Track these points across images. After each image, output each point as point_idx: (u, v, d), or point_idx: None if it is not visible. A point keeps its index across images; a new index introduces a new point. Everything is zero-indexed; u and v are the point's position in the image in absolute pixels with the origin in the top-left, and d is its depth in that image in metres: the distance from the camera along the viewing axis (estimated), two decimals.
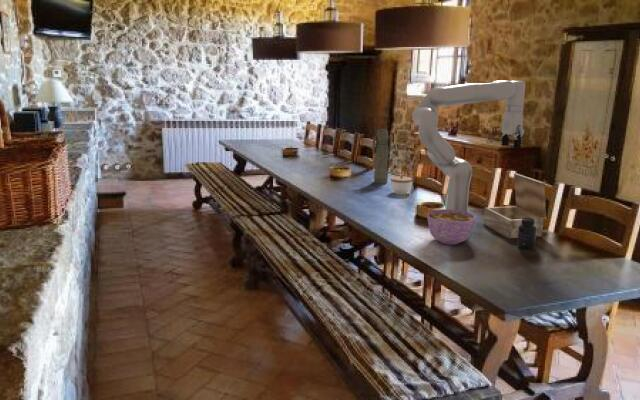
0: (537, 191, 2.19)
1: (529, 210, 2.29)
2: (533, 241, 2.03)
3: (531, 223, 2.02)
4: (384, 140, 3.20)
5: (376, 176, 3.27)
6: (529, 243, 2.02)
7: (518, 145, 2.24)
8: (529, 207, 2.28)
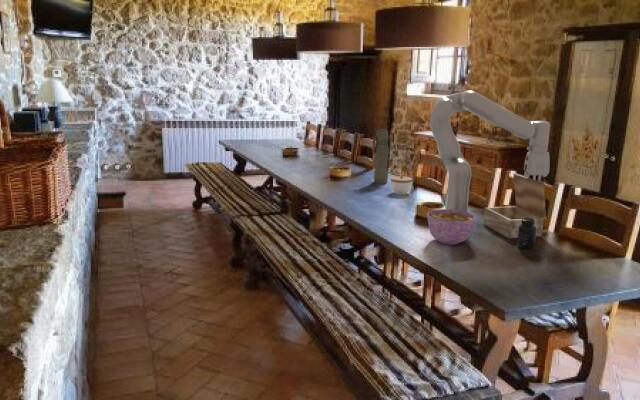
0: (537, 191, 2.19)
1: (529, 210, 2.29)
2: (533, 241, 2.03)
3: (531, 223, 2.02)
4: (384, 140, 3.21)
5: (376, 176, 3.27)
6: (529, 243, 2.02)
7: None
8: (529, 207, 2.28)
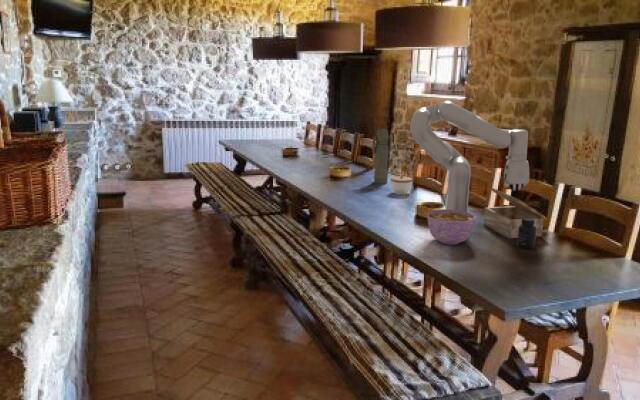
0: (519, 204, 2.19)
1: (528, 211, 2.29)
2: (533, 241, 2.03)
3: (531, 223, 2.02)
4: (384, 140, 3.20)
5: (376, 176, 3.27)
6: (529, 243, 2.02)
7: None
8: (526, 209, 2.28)
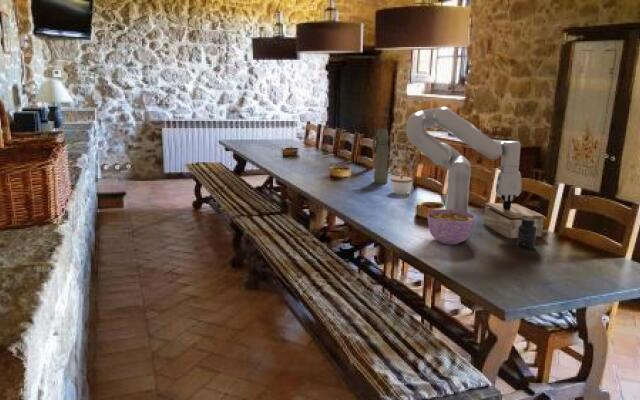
0: None
1: None
2: (533, 241, 2.03)
3: (531, 223, 2.01)
4: (384, 140, 3.20)
5: (376, 176, 3.27)
6: (529, 243, 2.02)
7: None
8: None
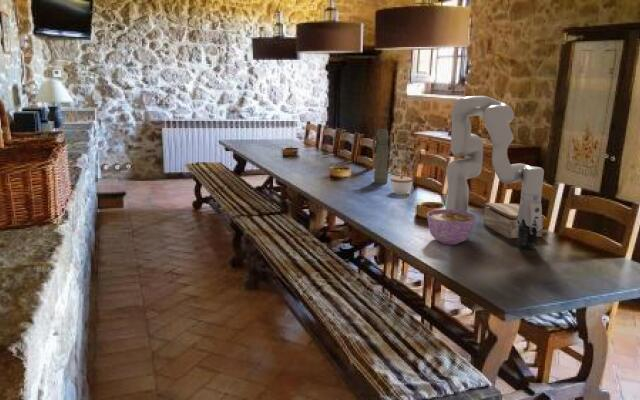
0: None
1: None
2: None
3: None
4: (384, 140, 3.20)
5: (376, 176, 3.27)
6: (529, 243, 2.02)
7: None
8: None
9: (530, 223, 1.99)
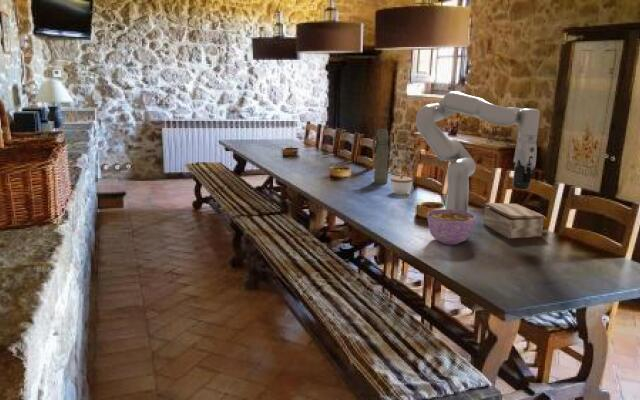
0: None
1: None
2: None
3: None
4: (384, 140, 3.20)
5: (376, 176, 3.27)
6: None
7: None
8: None
9: (525, 162, 2.08)
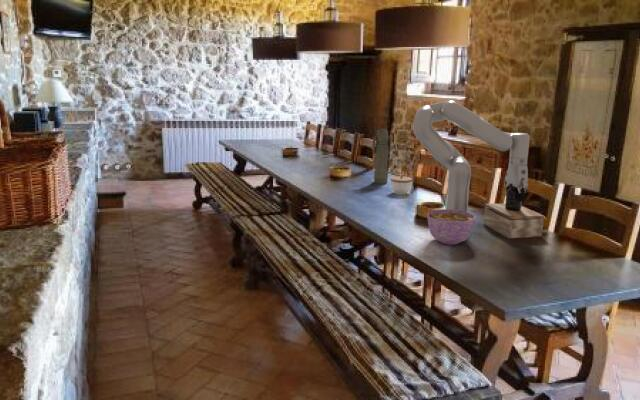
0: None
1: None
2: (519, 203, 2.24)
3: None
4: (384, 140, 3.20)
5: (376, 176, 3.27)
6: (516, 205, 2.24)
7: None
8: None
9: (517, 184, 2.20)
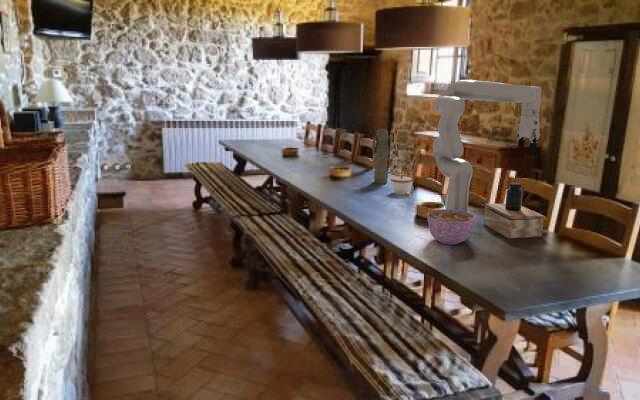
0: None
1: None
2: (519, 203, 2.24)
3: (518, 187, 2.23)
4: (384, 140, 3.20)
5: (376, 176, 3.27)
6: (516, 205, 2.24)
7: None
8: None
9: (529, 134, 2.31)
